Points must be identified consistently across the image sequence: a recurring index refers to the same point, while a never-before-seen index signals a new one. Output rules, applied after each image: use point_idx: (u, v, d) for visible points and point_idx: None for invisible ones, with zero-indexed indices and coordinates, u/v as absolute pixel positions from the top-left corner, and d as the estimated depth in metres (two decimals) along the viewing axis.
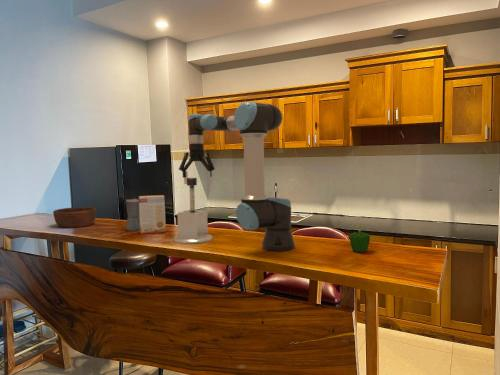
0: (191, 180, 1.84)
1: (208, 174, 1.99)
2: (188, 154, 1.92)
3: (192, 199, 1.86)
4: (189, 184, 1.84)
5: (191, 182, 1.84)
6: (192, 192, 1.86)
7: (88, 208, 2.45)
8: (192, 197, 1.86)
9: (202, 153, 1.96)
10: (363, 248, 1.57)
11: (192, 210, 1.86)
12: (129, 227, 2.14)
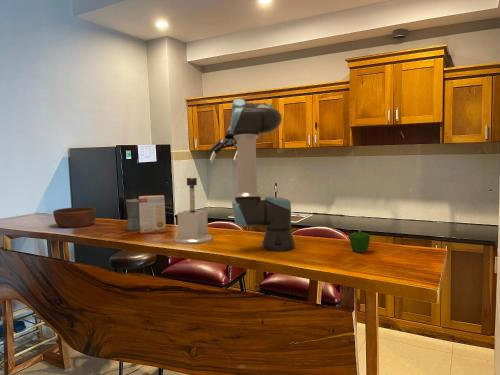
0: (191, 180, 1.84)
1: (235, 154, 1.95)
2: (221, 141, 2.05)
3: (192, 199, 1.86)
4: (189, 184, 1.84)
5: (191, 182, 1.84)
6: (192, 192, 1.86)
7: (88, 208, 2.45)
8: (192, 197, 1.86)
9: (234, 139, 2.02)
10: (363, 248, 1.57)
11: (192, 210, 1.86)
12: (129, 227, 2.14)
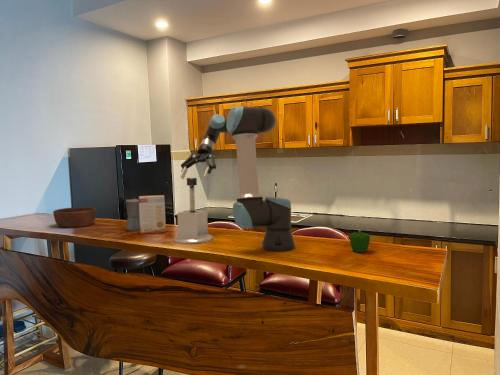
0: (191, 180, 1.84)
1: None
2: (193, 156, 2.01)
3: (192, 199, 1.86)
4: (189, 184, 1.84)
5: (191, 182, 1.84)
6: (192, 192, 1.86)
7: (88, 208, 2.45)
8: (192, 197, 1.86)
9: (207, 154, 1.98)
10: (363, 248, 1.57)
11: (192, 210, 1.86)
12: (129, 227, 2.14)
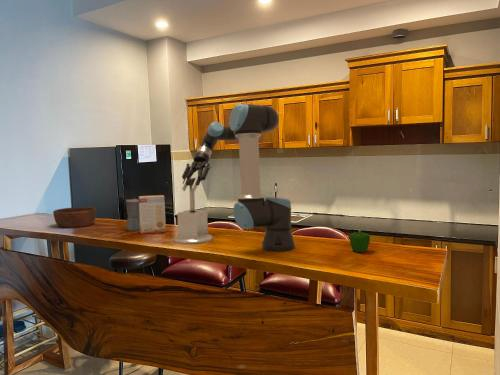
0: (191, 180, 1.84)
1: None
2: (190, 165, 1.95)
3: (192, 199, 1.86)
4: (189, 184, 1.84)
5: (191, 182, 1.84)
6: (192, 192, 1.86)
7: (88, 208, 2.45)
8: (192, 197, 1.86)
9: (204, 162, 1.92)
10: (363, 248, 1.57)
11: (192, 210, 1.86)
12: (129, 227, 2.14)
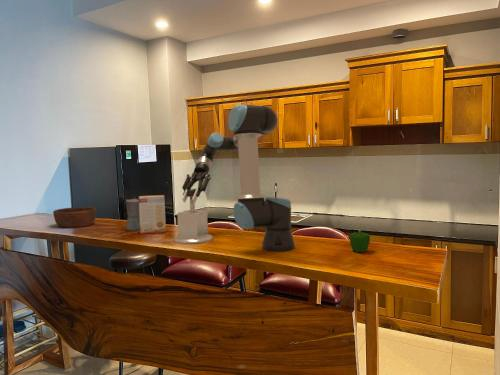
0: (191, 191, 1.84)
1: None
2: (190, 175, 1.95)
3: (192, 210, 1.86)
4: (189, 195, 1.85)
5: (191, 194, 1.84)
6: (192, 203, 1.86)
7: (88, 208, 2.45)
8: (192, 208, 1.86)
9: (204, 172, 1.93)
10: (363, 248, 1.57)
11: None
12: (129, 227, 2.14)
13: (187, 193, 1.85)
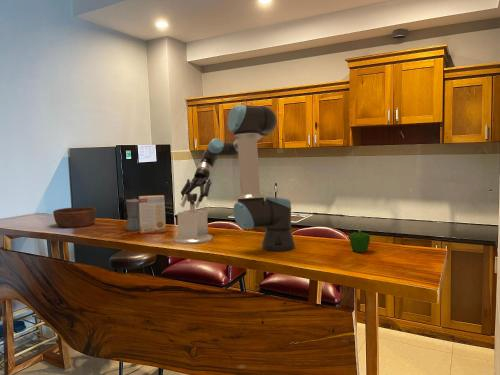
0: (191, 196, 1.84)
1: None
2: (190, 180, 1.95)
3: None
4: (189, 200, 1.85)
5: (191, 198, 1.85)
6: (192, 208, 1.86)
7: (88, 208, 2.45)
8: None
9: (204, 178, 1.93)
10: (363, 248, 1.57)
11: None
12: (129, 227, 2.14)
13: (187, 198, 1.86)
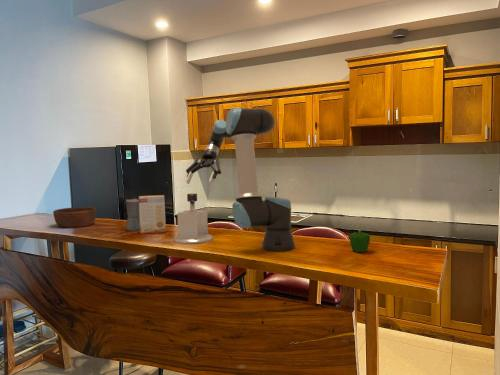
0: (191, 196, 1.84)
1: (212, 175, 1.93)
2: (198, 161, 2.04)
3: None
4: (189, 200, 1.85)
5: (191, 198, 1.85)
6: (192, 208, 1.86)
7: (88, 208, 2.45)
8: None
9: (211, 159, 2.01)
10: (363, 248, 1.57)
11: None
12: (129, 227, 2.14)
13: (187, 198, 1.86)
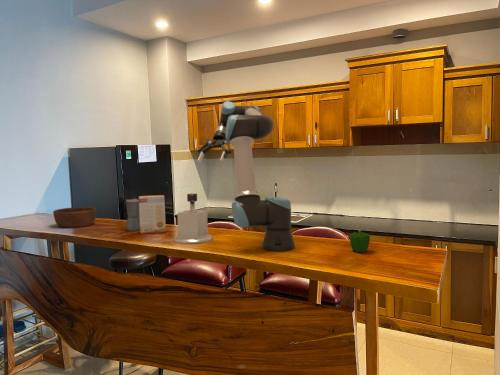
0: (191, 196, 1.84)
1: None
2: (209, 142, 2.12)
3: None
4: (189, 200, 1.85)
5: (191, 198, 1.85)
6: (192, 208, 1.86)
7: (88, 208, 2.45)
8: None
9: (222, 140, 2.09)
10: (363, 248, 1.57)
11: None
12: (129, 227, 2.14)
13: (187, 198, 1.86)
